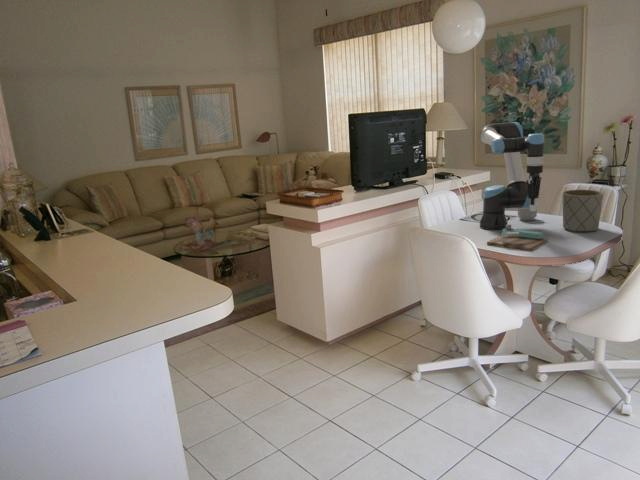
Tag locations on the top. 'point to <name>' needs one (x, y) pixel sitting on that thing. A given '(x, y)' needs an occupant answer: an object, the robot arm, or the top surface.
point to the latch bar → (526, 233)
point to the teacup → (526, 213)
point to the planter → (582, 210)
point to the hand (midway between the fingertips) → (533, 210)
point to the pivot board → (516, 241)
